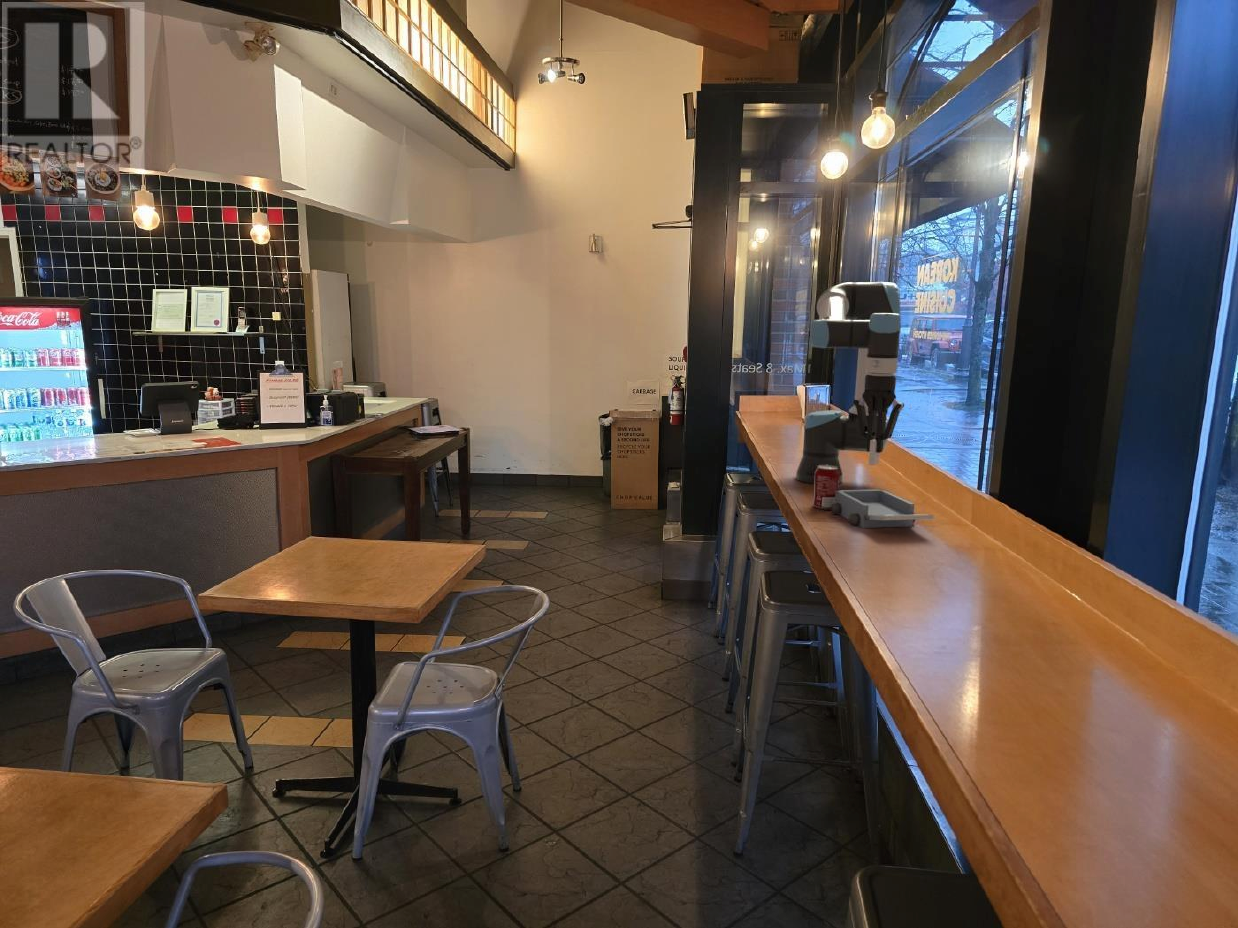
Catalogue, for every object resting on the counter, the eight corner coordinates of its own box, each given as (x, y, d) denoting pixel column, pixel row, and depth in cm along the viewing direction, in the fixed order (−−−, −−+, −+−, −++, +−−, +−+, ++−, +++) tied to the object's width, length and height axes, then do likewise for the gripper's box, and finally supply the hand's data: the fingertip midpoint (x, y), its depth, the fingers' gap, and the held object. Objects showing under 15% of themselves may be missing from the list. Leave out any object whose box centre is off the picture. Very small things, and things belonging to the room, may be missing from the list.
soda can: (837, 511, 208) (840, 469, 206) (813, 509, 210) (815, 468, 207) (835, 505, 215) (838, 465, 213) (812, 504, 216) (814, 464, 214)
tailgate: (864, 515, 191) (883, 515, 182) (913, 513, 193) (934, 514, 184) (864, 519, 191) (883, 520, 182) (913, 518, 193) (934, 519, 184)
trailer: (828, 511, 208) (830, 490, 207) (885, 509, 211) (887, 489, 210) (856, 528, 192) (858, 505, 191) (918, 525, 195) (920, 503, 193)
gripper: (850, 373, 191) (843, 462, 196) (899, 377, 183) (891, 470, 188) (863, 371, 197) (856, 458, 202) (911, 375, 188) (903, 465, 193)
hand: (873, 464), depth 195 cm, fingers closed
